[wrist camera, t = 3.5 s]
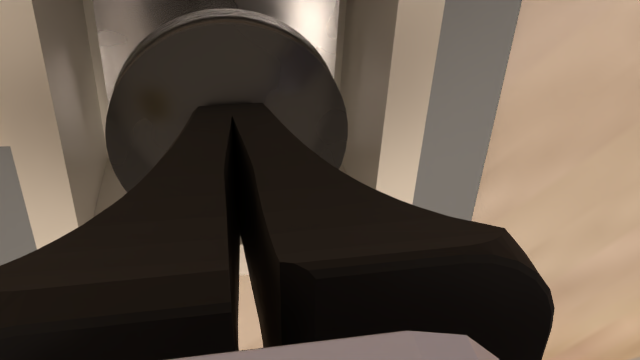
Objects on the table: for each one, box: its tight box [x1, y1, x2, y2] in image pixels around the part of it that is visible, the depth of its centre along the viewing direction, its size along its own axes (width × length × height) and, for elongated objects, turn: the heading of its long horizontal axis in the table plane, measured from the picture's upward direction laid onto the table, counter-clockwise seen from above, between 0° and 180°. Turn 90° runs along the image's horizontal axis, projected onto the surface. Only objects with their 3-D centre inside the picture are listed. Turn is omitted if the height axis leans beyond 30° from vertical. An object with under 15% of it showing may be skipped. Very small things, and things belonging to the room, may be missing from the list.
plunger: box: [92, 0, 348, 236], centre depth 14 cm, size 6×6×6 cm
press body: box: [0, 0, 445, 275], centre depth 15 cm, size 11×9×5 cm
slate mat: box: [0, 0, 522, 266], centre depth 17 cm, size 18×16×1 cm
